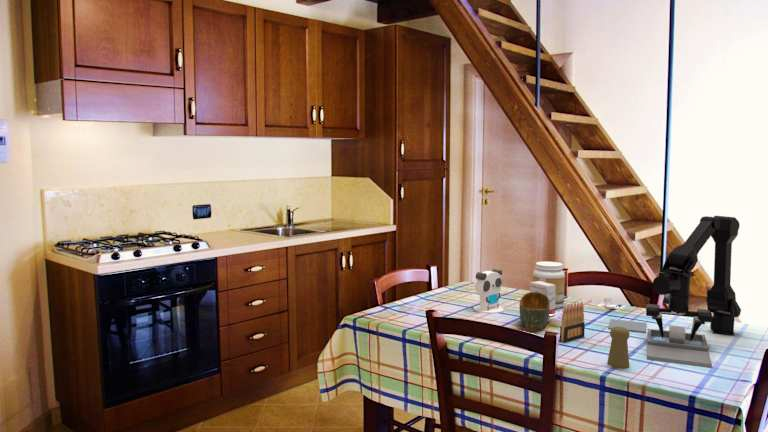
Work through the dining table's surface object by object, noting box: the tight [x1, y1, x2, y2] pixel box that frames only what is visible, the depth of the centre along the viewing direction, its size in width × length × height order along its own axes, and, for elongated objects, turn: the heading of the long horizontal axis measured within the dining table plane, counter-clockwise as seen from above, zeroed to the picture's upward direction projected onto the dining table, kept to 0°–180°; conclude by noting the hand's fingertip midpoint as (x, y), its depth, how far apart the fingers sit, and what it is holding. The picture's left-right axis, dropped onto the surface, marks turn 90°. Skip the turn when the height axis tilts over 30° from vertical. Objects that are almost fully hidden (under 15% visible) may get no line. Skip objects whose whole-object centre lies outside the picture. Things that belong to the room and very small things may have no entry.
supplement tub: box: [532, 261, 566, 310], centre depth 247 cm, size 12×12×17 cm
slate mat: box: [608, 318, 647, 334], centre depth 219 cm, size 12×12×1 cm
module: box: [667, 325, 686, 345], centre depth 200 cm, size 4×7×5 cm, turn 156°
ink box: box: [529, 281, 556, 314], centre depth 234 cm, size 9×5×12 cm, turn 33°
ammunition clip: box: [559, 301, 586, 344], centre depth 203 cm, size 11×2×12 cm, turn 127°
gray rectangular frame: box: [646, 328, 713, 368], centre depth 194 cm, size 17×28×2 cm, turn 157°
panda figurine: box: [473, 268, 505, 314], centre depth 240 cm, size 12×11×15 cm
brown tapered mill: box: [606, 327, 630, 370], centre depth 179 cm, size 6×6×11 cm
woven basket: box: [519, 291, 550, 332], centre depth 219 cm, size 13×20×10 cm, turn 136°
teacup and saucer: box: [597, 296, 620, 310], centre depth 247 cm, size 9×8×4 cm
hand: (676, 339), depth 200 cm, fingers open, 8 cm apart
